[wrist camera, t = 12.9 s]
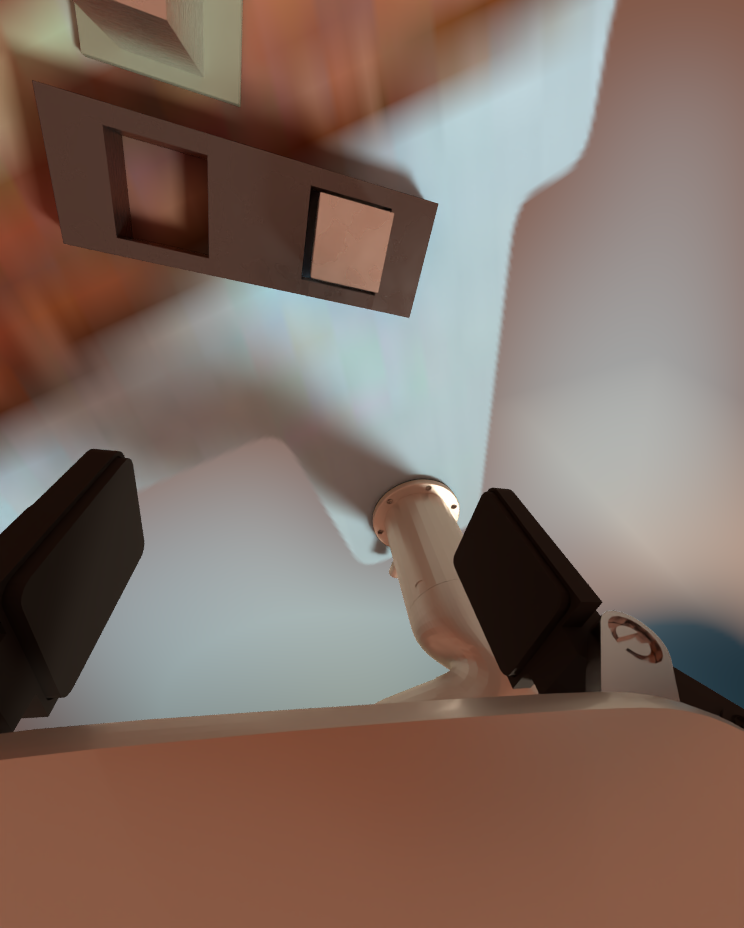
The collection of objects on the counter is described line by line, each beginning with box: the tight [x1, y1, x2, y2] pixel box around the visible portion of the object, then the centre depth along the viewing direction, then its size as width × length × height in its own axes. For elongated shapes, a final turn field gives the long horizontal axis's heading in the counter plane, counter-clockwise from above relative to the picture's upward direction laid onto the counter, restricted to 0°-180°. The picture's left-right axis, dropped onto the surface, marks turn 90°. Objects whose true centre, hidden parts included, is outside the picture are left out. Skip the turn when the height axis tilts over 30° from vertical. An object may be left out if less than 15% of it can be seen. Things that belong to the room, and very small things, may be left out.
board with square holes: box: [32, 80, 438, 318], centre depth 29 cm, size 9×28×3 cm, turn 77°
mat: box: [74, 0, 243, 107], centre depth 23 cm, size 7×10×1 cm
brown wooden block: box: [310, 192, 394, 293], centre depth 29 cm, size 5×5×8 cm
